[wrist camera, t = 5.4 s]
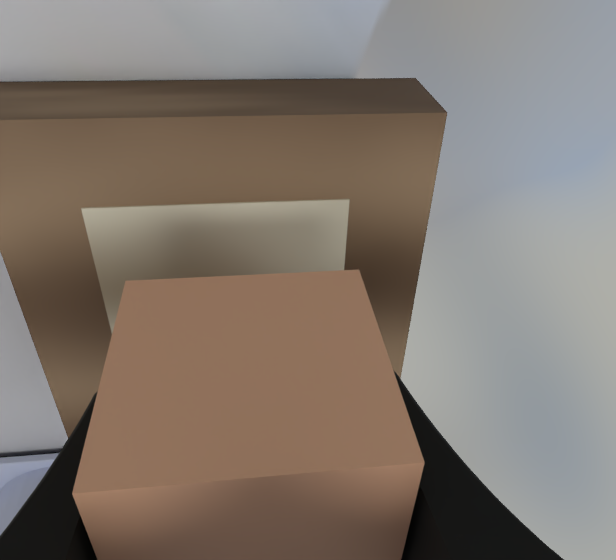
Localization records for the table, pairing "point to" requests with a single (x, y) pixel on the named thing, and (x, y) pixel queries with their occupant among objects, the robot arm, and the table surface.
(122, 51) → the table surface
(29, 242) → the plinth
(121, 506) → the cube
